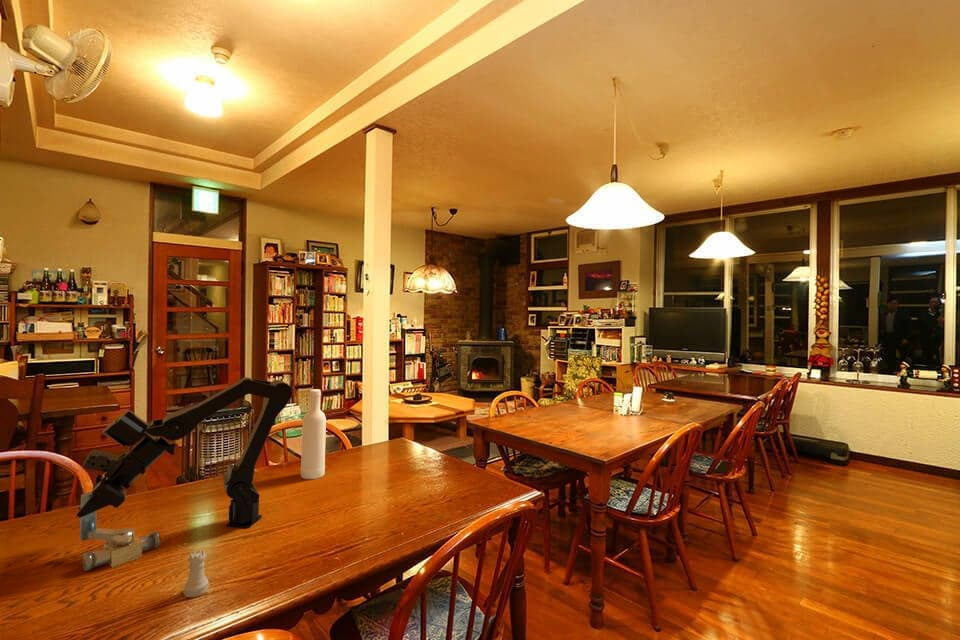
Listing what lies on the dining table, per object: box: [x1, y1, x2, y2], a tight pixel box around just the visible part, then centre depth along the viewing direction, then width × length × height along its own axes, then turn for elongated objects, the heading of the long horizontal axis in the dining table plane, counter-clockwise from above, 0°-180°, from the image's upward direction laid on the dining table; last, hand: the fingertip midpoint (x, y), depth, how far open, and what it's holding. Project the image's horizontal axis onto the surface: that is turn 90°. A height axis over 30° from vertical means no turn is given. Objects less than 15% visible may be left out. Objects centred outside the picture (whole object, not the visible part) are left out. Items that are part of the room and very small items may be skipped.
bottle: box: [300, 388, 327, 480], centre depth 159 cm, size 8×8×30 cm
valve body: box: [81, 530, 162, 572], centre depth 104 cm, size 14×6×4 cm, turn 143°
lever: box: [79, 491, 135, 545], centre depth 105 cm, size 12×4×10 cm, turn 84°
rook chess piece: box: [183, 549, 210, 599], centre depth 93 cm, size 4×4×8 cm
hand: (79, 513), depth 104 cm, fingers open, 3 cm apart
